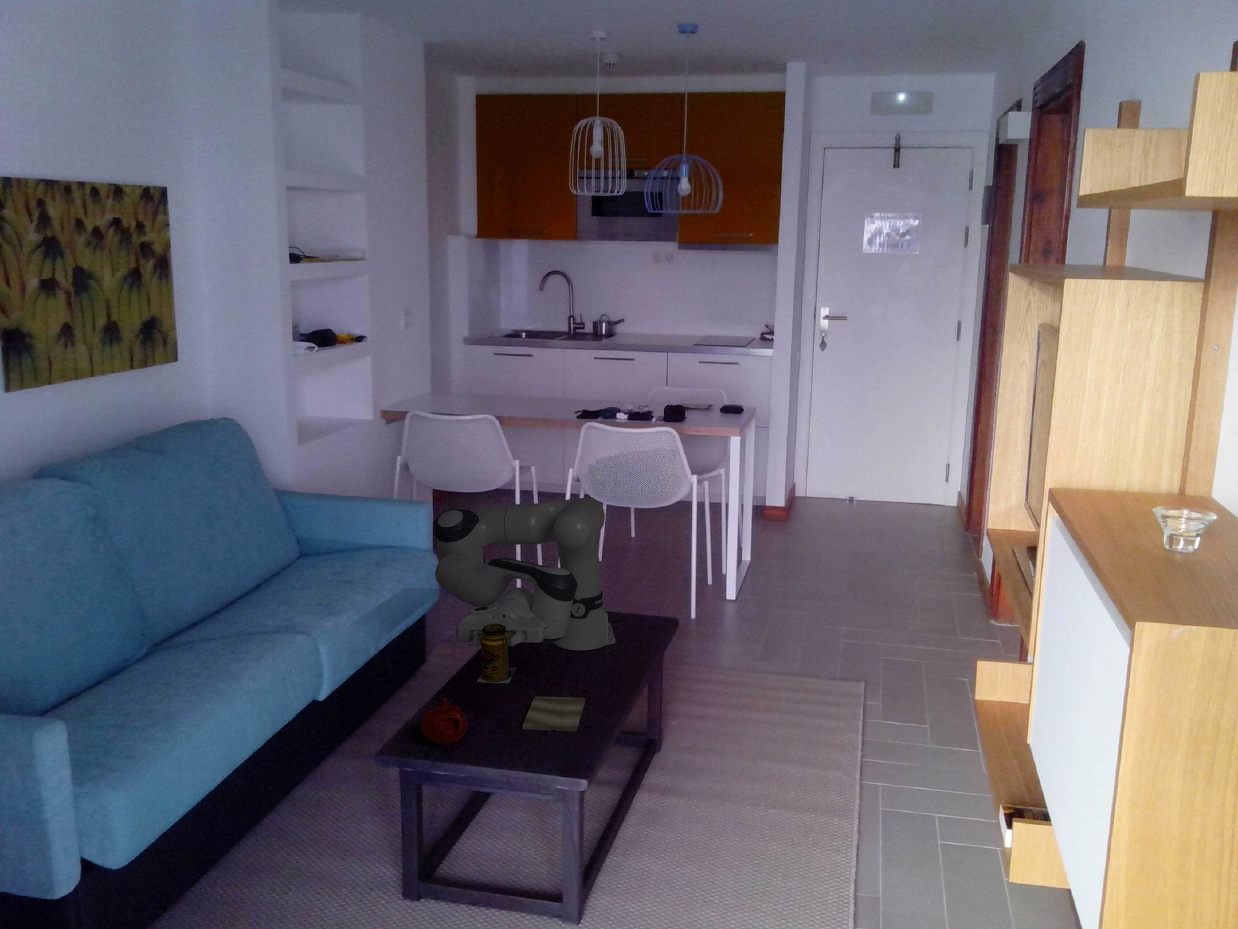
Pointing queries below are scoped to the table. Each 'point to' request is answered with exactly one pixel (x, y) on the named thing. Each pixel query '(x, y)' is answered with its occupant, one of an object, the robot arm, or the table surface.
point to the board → (554, 713)
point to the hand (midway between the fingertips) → (493, 642)
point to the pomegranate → (444, 723)
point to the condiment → (495, 655)
